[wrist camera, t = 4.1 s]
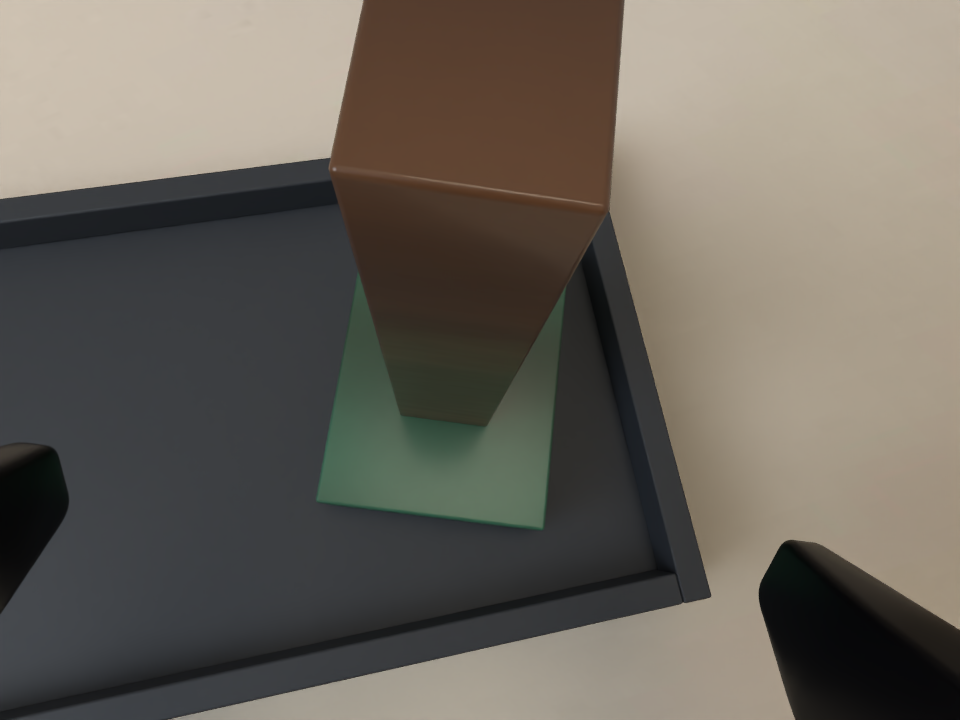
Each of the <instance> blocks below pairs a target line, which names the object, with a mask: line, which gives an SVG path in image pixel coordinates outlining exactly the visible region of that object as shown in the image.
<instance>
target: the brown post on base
mask: <svg viewBox="0 0 960 720" xmlns="http://www.w3.org/2000/svg"><path fill="white" fill-rule="evenodd" d="M624 1H625V0H363V5H362V9H361V14H360V19H359V24H358V29H357V33H356V38H355V43H354V48H353V53H352V57H351V62H350V67H349V72H348V77H347V81H346V86H345V91H344V96H343V101H342V105H341V110H340V115H339V120H338V124H337V129H336V134H335V139H334V144H333V148H332V153H331V158H330V163H329V173H330V176H331V180H332V183H333V187H334V190H335V193H336V197H337V200H338V204H339V207H340V211H341V214H342V217H343V221H344V224H345V228H346V231H347V234H348V238H349V241H350V245H351V248H352V252H353V255H354V258H355V262H356V265H357V269H358V273H357V279H356V284H355V290H354V295H353V300H352V306H351V311H350V317H349V322H348V327H347V333H346V338H345V344H344V349H343V354H342V360H341V365H340V371H339V376H338V381H337V387H336V392H335V398H334V403H333V408H332V414H331V419H330V425H329V430H328V435H327V441H326V446H325V452H324V457H323V462H322V468H321V473H320V479H319V484H318V489H317V495H316V502H318V503H322V504H328V505H335V506H343V507H351V508H359V509H367V510H375V511H383V512H391V513H399V514H407V515H415V516H423V517H431V518H439V519H447V520H455V521H463V522H471V523H479V524H487V525H495V526H503V527H511V528H519V529H527V530H540V531H541V530H544V528H545V519H546V508H547V496H548V485H549V474H550V463H551V452H552V441H553V429H554V418H555V407H556V396H557V385H558V373H559V362H560V351H561V340H562V329H563V318H564V306H565V295H566V285H567V284H568V282H569V280H570V278H571V277H572V275H573V273H574V271H575V269H576V268H577V266H578V264H579V262H580V261H581V259H582V257H583V255H584V254H585V252H586V250H587V248H588V246H589V245H590V243H591V241H592V239H593V238H594V236H595V234H596V232H597V231H598V229H599V227H600V225H601V223H602V222H603V220H604V218H605V216H606V215H607V213H608V211H609V208H610V195H611V181H612V167H613V153H614V139H615V126H616V112H617V98H618V84H619V70H620V56H621V43H622V29H623V15H624Z"/></svg>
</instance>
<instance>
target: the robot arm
mask: <svg viewBox="0 0 960 720" xmlns="http://www.w3.org/2000/svg"><path fill="white" fill-rule="evenodd" d="M68 507H69V493H68V489H67V485H66V481H65V478H64V474H63V470H62V466H61V462H60V458H59V455H58V453H57V451H56V450H55V449H54V448H53V447H51V446H48V445H41V444H34V443H26V442H16V443H11V444H7V445H3V446H0V614H1V613H2V611H3V610H4V608H5V607H6V606H7V604H8V603H9V601H10V600H11V598H12V597H13V595H14V594H15V592H16V591H17V589H18V588H19V586H20V585H21V583H22V582H23V580H24V579H25V577H26V576H27V574H28V573H29V571H30V570H31V568H32V567H33V565H34V564H35V562H36V561H37V559H38V558H39V556H40V555H41V553H42V552H43V550H44V549H45V547H46V546H47V544H48V543H49V541H50V540H51V538H52V537H53V535H54V534H55V532H56V531H57V529H58V528H59V526H60V525H61V523H62V522H63V520H64V518H65V516H66V514H67V511H68ZM759 603H760V607H761V611H762V614H763V617H764V621H765V624H766V627H767V631H768V634H769V637H770V641H771V644H772V647H773V651H774V654H775V657H776V661H777V664H778V667H779V671H780V674H781V677H782V681H783V684H784V687H785V691H786V694H787V697H788V700H789V703H790V706H791V709H792V712H793V715H794V717H795V720H960V630H959V629H957V628H956V627H954V626H952V625H951V624H949V623H947V622H946V621H944V620H943V619H941V618H939V617H938V616H936V615H934V614H933V613H931V612H930V611H928V610H926V609H925V608H923V607H921V606H920V605H918V604H917V603H915V602H913V601H912V600H910V599H908V598H907V597H905V596H904V595H902V594H900V593H899V592H897V591H895V590H894V589H892V588H891V587H889V586H887V585H886V584H884V583H882V582H881V581H879V580H878V579H876V578H874V577H873V576H871V575H869V574H868V573H866V572H865V571H863V570H861V569H860V568H858V567H856V566H855V565H853V564H852V563H850V562H848V561H847V560H845V559H843V558H842V557H840V556H839V555H837V554H835V553H834V552H832V551H830V550H829V549H827V548H826V547H824V546H822V545H820V544H817V543H813V542H805V541H797V540H788V541H785V542H784V543H783V544H781V546H780V547H779V549H778V551H777V553H776V555H775V557H774V558H773V560H772V562H771V564H770V566H769V568H768V570H767V571H766V573H765V575H764V577H763V579H762V581H761V583H760V588H759Z"/></svg>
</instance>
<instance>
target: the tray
mask: <svg viewBox="0 0 960 720" xmlns="http://www.w3.org/2000/svg"><path fill="white" fill-rule="evenodd" d="M329 163H330V158H325V159H317V160H310V161H302V162H294V163H286V164H278V165H270V166H262V167H254V168H246V169H238V170H230V171H222V172H214V173H206V174H198V175H190V176H182V177H174V178H166V179H158V180H150V181H142V182H134V183H126V184H118V185H110V186H102V187H94V188H86V189H78V190H70V191H62V192H54V193H46V194H38V195H30V196H22V197H14V198H6V199H0V446H3V445H7V444H11V443H16V442H26V443H34V444H41V445H48V446H51V447H53V448H54V449H55V450H56V451H57V453H58V455H59V458H60V462H61V466H62V470H63V474H64V478H65V481H66V485H67V489H68V493H69V507H68V511H67V514H66V516H65V518H64V520H63V522H62V523H61V525H60V526H59V528H58V529H57V531H56V532H55V534H54V535H53V537H52V538H51V540H50V541H49V543H48V544H47V546H46V547H45V549H44V550H43V552H42V553H41V555H40V556H39V558H38V559H37V561H36V562H35V564H34V565H33V567H32V568H31V570H30V571H29V573H28V574H27V576H26V577H25V579H24V580H23V582H22V583H21V585H20V586H19V588H18V589H17V591H16V592H15V594H14V595H13V597H12V598H11V600H10V601H9V603H8V604H7V606H6V607H5V608H4V610H3V611H2V613H1V614H0V720H168V719H172V718H177V717H181V716H186V715H190V714H195V713H199V712H203V711H208V710H212V709H217V708H221V707H226V706H230V705H235V704H239V703H243V702H248V701H252V700H257V699H261V698H266V697H270V696H275V695H279V694H283V693H288V692H292V691H297V690H301V689H306V688H310V687H315V686H319V685H323V684H328V683H332V682H337V681H341V680H346V679H350V678H355V677H359V676H363V675H368V674H372V673H377V672H381V671H386V670H390V669H395V668H399V667H403V666H408V665H412V664H417V663H421V662H426V661H430V660H435V659H439V658H443V657H448V656H452V655H457V654H461V653H466V652H470V651H475V650H479V649H483V648H488V647H492V646H497V645H501V644H506V643H510V642H515V641H519V640H523V639H528V638H532V637H537V636H541V635H546V634H550V633H555V632H559V631H563V630H568V629H572V628H577V627H581V626H586V625H590V624H595V623H599V622H603V621H608V620H612V619H617V618H621V617H626V616H630V615H635V614H639V613H643V612H648V611H652V610H657V609H661V608H666V607H670V606H675V605H679V604H681V603H683V602H684V603H688V602H693V601H697V600H702V599H706V598H710V597H711V593H710V589H709V585H708V581H707V578H706V574H705V570H704V566H703V563H702V559H701V555H700V551H699V548H698V544H697V540H696V536H695V532H694V529H693V525H692V521H691V517H690V514H689V510H688V506H687V502H686V499H685V495H684V491H683V487H682V484H681V480H680V476H679V472H678V469H677V465H676V461H675V457H674V453H673V450H672V446H671V442H670V438H669V435H668V431H667V427H666V423H665V420H664V416H663V412H662V408H661V405H660V401H659V397H658V393H657V389H656V386H655V382H654V378H653V374H652V371H651V367H650V363H649V359H648V356H647V352H646V348H645V344H644V341H643V337H642V333H641V329H640V326H639V322H638V318H637V314H636V310H635V307H634V303H633V299H632V295H631V292H630V288H629V284H628V280H627V277H626V273H625V269H624V265H623V262H622V258H621V254H620V250H619V246H618V243H617V239H616V235H615V231H614V228H613V224H612V220H611V216H610V213H609V211H608V213H607V215H606V216H605V218H604V220H603V222H602V223H601V225H600V227H599V229H598V231H597V232H596V234H595V236H594V238H593V239H592V241H591V243H590V245H589V246H588V248H587V250H586V252H585V254H584V255H583V257H582V259H581V261H580V262H579V264H578V266H577V268H576V269H575V271H574V273H573V275H572V277H571V278H570V280H569V282H568V284H567V285H566V295H565V306H564V318H563V329H562V340H561V351H560V362H559V373H558V385H557V396H556V407H555V418H554V429H553V441H552V452H551V463H550V474H549V485H548V496H547V508H546V519H545V528H544V530H541V531H540V530H527V529H519V528H511V527H503V526H495V525H487V524H479V523H471V522H463V521H455V520H447V519H439V518H431V517H423V516H415V515H407V514H399V513H391V512H383V511H375V510H367V509H359V508H351V507H343V506H335V505H328V504H322V503H318V502H316V495H317V489H318V484H319V479H320V473H321V468H322V462H323V457H324V452H325V446H326V441H327V435H328V430H329V425H330V419H331V414H332V408H333V403H334V398H335V392H336V387H337V381H338V376H339V371H340V365H341V360H342V354H343V349H344V344H345V338H346V333H347V327H348V322H349V317H350V311H351V306H352V300H353V295H354V290H355V284H356V279H357V273H358V269H357V265H356V262H355V258H354V255H353V252H352V248H351V245H350V241H349V238H348V234H347V231H346V228H345V224H344V221H343V217H342V214H341V211H340V207H339V204H338V200H337V197H336V193H335V190H334V187H333V183H332V180H331V176H330V173H329Z"/></svg>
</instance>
